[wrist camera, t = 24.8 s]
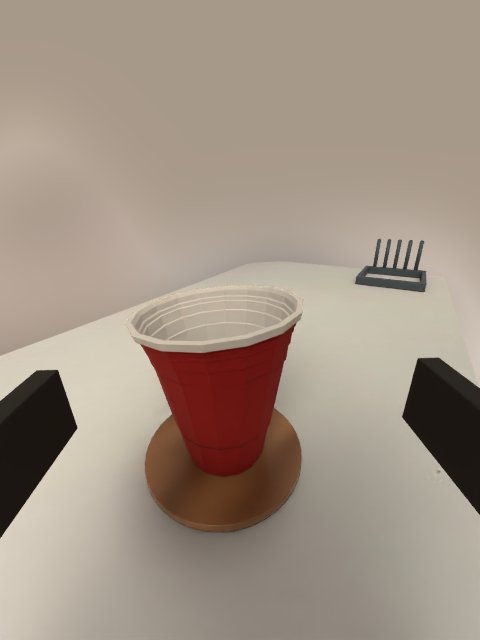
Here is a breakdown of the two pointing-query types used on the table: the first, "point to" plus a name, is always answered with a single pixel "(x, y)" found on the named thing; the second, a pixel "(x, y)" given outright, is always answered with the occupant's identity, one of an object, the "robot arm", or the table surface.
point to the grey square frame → (394, 271)
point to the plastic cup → (220, 366)
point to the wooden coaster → (222, 480)
